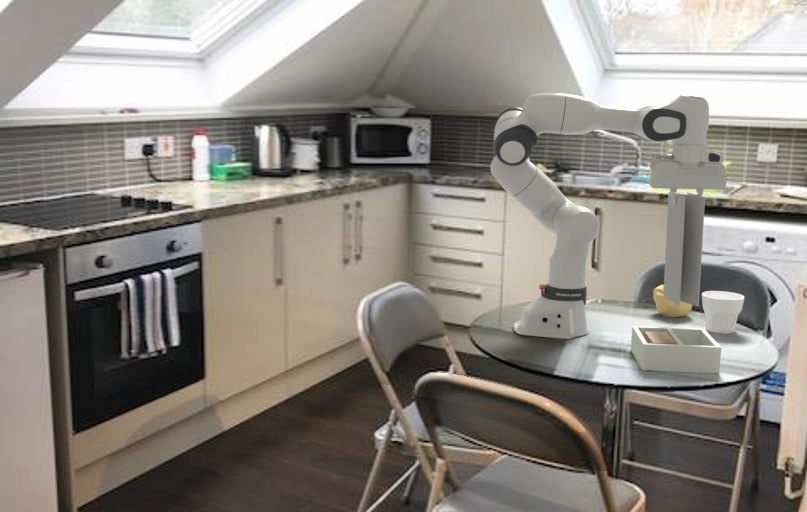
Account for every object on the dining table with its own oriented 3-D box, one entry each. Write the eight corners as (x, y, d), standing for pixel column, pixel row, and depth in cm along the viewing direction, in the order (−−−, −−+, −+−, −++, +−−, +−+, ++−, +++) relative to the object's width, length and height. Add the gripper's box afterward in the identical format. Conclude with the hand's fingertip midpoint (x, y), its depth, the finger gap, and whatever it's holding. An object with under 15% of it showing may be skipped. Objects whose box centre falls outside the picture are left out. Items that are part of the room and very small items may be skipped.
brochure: (698, 306, 237) (705, 197, 232) (678, 306, 237) (684, 197, 232) (682, 295, 251) (688, 192, 246) (663, 295, 251) (668, 192, 246)
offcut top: (652, 355, 229) (653, 342, 228) (643, 343, 240) (644, 331, 239) (675, 356, 229) (676, 343, 228) (665, 344, 239) (666, 332, 239)
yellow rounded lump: (646, 312, 288) (648, 280, 286) (678, 310, 291) (680, 278, 289) (665, 320, 277) (667, 287, 275) (698, 318, 280) (700, 286, 278)
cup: (703, 322, 275) (706, 289, 273) (744, 328, 269) (748, 293, 267) (694, 331, 264) (697, 296, 262) (737, 337, 258) (740, 301, 256)
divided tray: (642, 370, 226) (643, 344, 225) (630, 350, 244) (632, 326, 243) (719, 373, 224) (721, 347, 223) (702, 352, 242) (704, 328, 241)
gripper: (652, 154, 235) (649, 205, 237) (730, 156, 233) (726, 207, 235) (648, 153, 241) (645, 202, 243) (724, 154, 239) (719, 204, 241)
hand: (685, 205), depth 239 cm, fingers closed on brochure, 3 cm apart
